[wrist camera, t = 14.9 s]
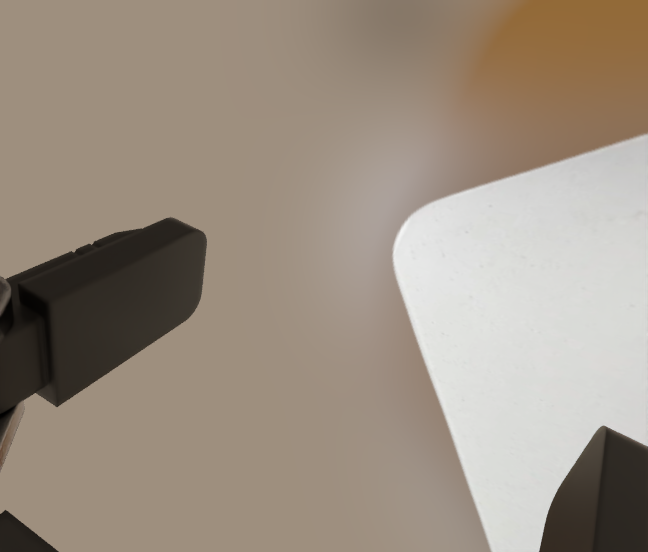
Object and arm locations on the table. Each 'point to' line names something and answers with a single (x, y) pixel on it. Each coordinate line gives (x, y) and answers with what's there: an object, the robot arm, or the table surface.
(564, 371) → the table surface
